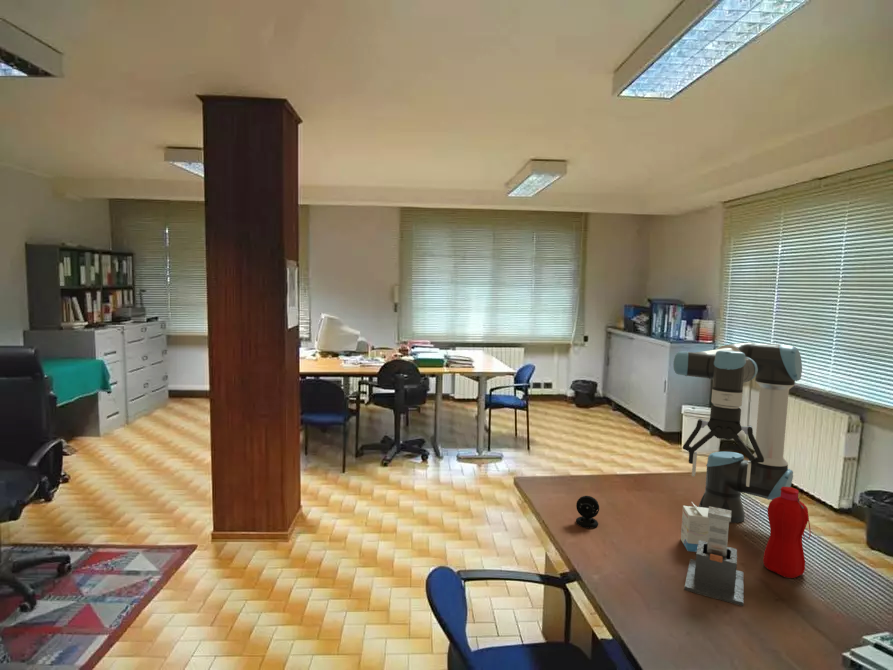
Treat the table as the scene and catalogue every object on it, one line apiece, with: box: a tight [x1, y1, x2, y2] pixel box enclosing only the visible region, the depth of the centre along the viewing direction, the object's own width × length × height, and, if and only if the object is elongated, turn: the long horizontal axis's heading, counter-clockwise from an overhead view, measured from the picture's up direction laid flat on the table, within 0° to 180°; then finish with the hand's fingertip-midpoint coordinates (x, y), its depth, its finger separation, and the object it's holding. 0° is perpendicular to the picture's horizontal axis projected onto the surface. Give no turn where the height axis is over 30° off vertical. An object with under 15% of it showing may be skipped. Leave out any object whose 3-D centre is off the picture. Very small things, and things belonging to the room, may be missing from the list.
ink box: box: [680, 501, 709, 553], centre depth 168 cm, size 9×8×13 cm
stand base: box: [683, 540, 745, 607], centre depth 147 cm, size 18×14×10 cm
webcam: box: [575, 495, 600, 529], centre depth 183 cm, size 8×8×10 cm
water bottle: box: [762, 487, 812, 579], centre depth 153 cm, size 9×11×25 cm
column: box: [707, 506, 731, 559], centre depth 146 cm, size 6×6×19 cm
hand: (719, 480), depth 148 cm, fingers open, 13 cm apart
